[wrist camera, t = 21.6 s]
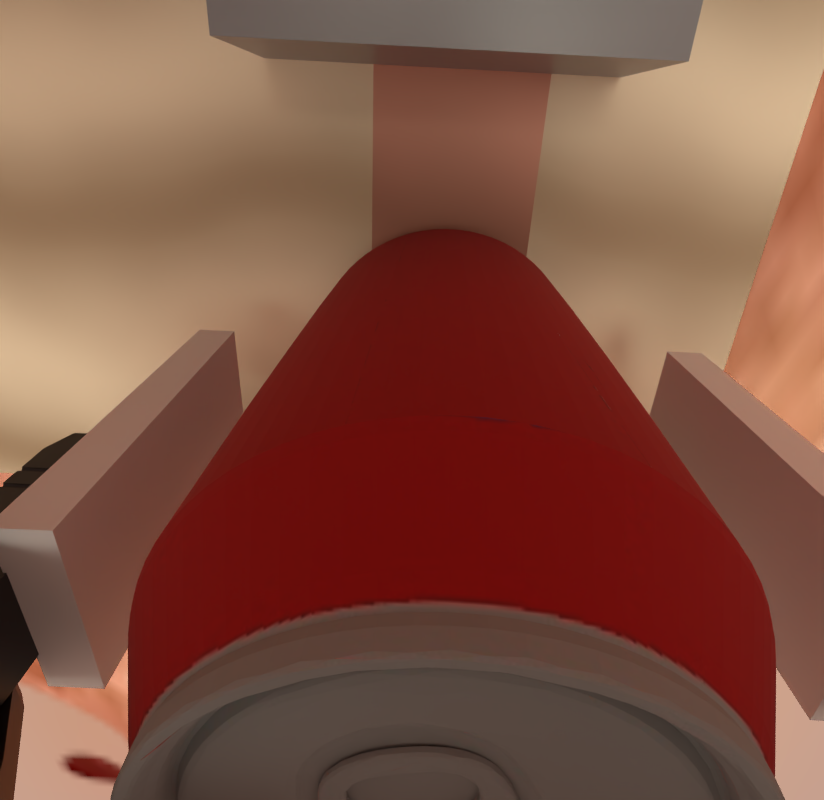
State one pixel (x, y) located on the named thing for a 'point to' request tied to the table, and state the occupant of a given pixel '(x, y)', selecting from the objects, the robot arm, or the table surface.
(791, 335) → the table surface
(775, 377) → the table surface
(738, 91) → the subfloor panel
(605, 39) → the block
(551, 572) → the beverage can
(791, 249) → the table surface
